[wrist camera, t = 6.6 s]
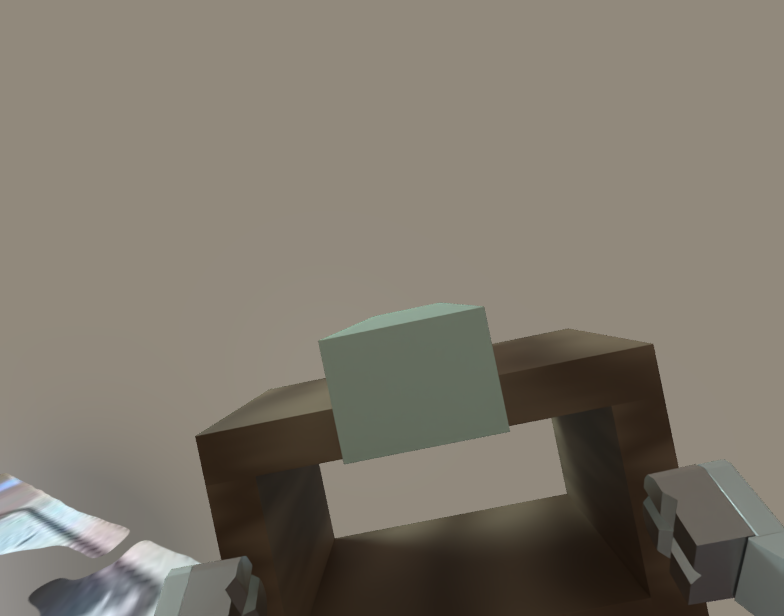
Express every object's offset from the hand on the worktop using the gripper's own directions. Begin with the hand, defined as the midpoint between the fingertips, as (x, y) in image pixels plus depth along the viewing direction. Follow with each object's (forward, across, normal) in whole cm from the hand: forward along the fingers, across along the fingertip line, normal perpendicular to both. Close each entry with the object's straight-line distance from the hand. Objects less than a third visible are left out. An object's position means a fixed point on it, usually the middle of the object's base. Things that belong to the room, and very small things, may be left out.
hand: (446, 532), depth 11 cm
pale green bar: (+10, 0, +5) cm, 11 cm away
